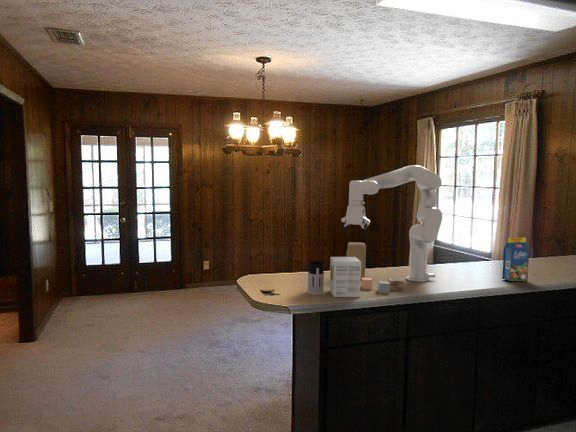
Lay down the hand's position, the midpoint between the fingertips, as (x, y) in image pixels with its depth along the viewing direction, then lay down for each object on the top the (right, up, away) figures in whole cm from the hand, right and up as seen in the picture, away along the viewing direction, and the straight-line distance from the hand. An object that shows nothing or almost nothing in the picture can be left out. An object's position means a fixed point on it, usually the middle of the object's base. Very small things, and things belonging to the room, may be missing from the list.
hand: (354, 235), depth 244 cm
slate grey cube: (+12, -28, -17) cm, 35 cm away
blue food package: (+94, -27, +15) cm, 99 cm away
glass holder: (-22, -28, -23) cm, 43 cm away
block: (+3, -26, +16) cm, 30 cm away
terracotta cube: (+5, -28, -9) cm, 29 cm away
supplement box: (-8, -28, -22) cm, 37 cm away
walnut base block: (+20, -28, -9) cm, 35 cm away
